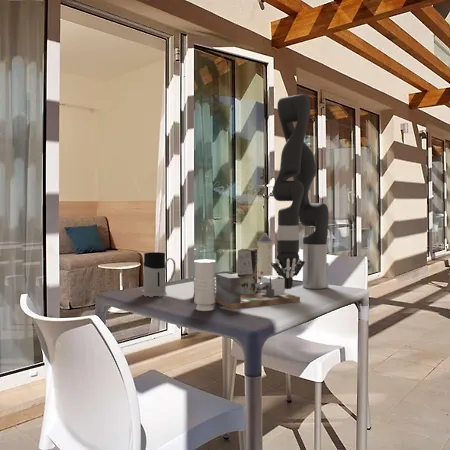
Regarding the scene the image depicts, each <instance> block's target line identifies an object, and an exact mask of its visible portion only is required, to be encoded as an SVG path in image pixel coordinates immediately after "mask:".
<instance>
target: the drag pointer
mask: <svg viewBox="0 0 450 450" xmlns="http://www.w3.org/2000/svg"><path fill="white" fill-rule="evenodd" d="M266 296H269V297H274V289H271V277H270V288H266Z"/></svg>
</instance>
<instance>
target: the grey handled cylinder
mask: <svg viewBox="0 0 450 450" xmlns="http://www.w3.org/2000/svg"><path fill="white" fill-rule="evenodd" d="M143 260H144V261H143V293H142V296H143V295H144V297H147V296H149V298H150V297H152V298H154V297H153V296H159V297H165V296H167V295H168V293H167V290H166V288H167V287H166V286H167V285H169V284H170V282H171V281H172V280H173V278H174V276H175V274H176V273H175V272H176V261H175V260H174V258H171V257H169V258H166V253H165V252H158V251H157V252H155V251H154V252H144V255H143ZM169 260H171V261H172V263H173V271H172V275H171V276H170V279H169V280H168V281H167V280H166V274H167V273H166V269H167V267H168V261H169ZM166 281H167V282H166ZM164 295H165V296H164Z"/></svg>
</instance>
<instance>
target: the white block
mask: <svg viewBox="0 0 450 450" xmlns="http://www.w3.org/2000/svg"><path fill="white" fill-rule="evenodd" d="M270 277H271V289H274V296H277V295H285V293H286V292H285V289H286V288H285V278H283V277H282V276H279V275H278V276H277V275H273V274H272V276H261V278H260V282H257V284H256V290H257V291H260V293H264V294H266V288H270Z"/></svg>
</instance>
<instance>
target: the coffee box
mask: <svg viewBox="0 0 450 450" xmlns="http://www.w3.org/2000/svg"><path fill="white" fill-rule="evenodd" d="M237 276H238V277H241V295H245V294H255V293H257V291H258V290H256V284H257V283H258V278H257V248H241V249H238V250H237Z"/></svg>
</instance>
